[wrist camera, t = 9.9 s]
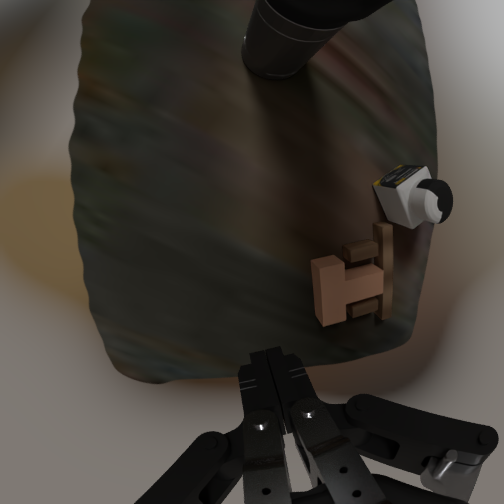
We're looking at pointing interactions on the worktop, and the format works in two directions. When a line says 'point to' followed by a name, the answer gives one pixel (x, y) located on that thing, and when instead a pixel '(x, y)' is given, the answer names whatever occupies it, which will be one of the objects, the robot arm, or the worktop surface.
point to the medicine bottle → (413, 196)
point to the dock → (383, 260)
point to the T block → (341, 287)
